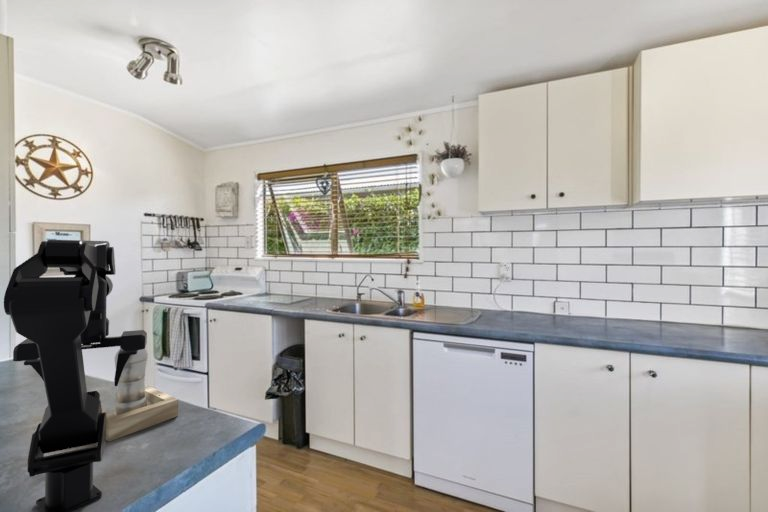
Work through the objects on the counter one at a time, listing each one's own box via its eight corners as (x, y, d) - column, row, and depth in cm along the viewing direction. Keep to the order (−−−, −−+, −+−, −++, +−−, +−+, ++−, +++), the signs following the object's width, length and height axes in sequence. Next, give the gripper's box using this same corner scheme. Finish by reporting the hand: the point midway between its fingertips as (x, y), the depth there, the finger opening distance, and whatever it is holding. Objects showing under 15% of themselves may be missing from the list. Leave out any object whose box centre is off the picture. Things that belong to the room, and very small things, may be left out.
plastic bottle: (149, 410, 88) (151, 329, 88) (143, 423, 82) (145, 335, 82) (117, 414, 86) (119, 330, 86) (108, 428, 80) (110, 337, 79)
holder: (178, 415, 86) (178, 399, 86) (109, 441, 74) (109, 422, 74) (148, 401, 94) (148, 386, 93) (81, 422, 82) (81, 405, 82)
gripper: (149, 299, 80) (147, 369, 80) (34, 303, 70) (33, 383, 71) (145, 306, 70) (144, 387, 70) (12, 313, 61) (11, 405, 61)
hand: (86, 389), depth 68 cm, fingers open, 9 cm apart
